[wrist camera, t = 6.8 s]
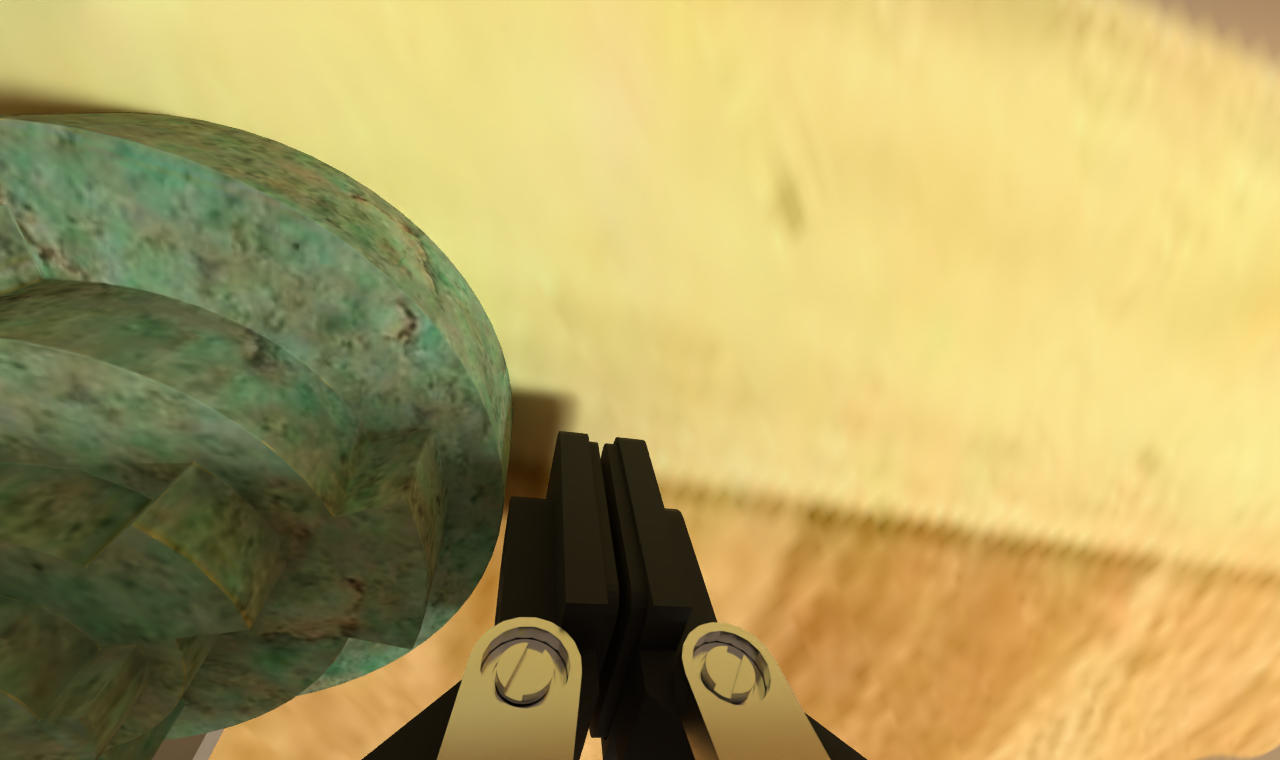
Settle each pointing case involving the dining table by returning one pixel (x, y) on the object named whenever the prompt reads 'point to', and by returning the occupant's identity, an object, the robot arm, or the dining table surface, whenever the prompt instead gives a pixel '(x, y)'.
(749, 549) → the dining table surface
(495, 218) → the dining table surface
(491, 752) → the robot arm
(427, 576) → the decorative artifact
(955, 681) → the dining table surface
